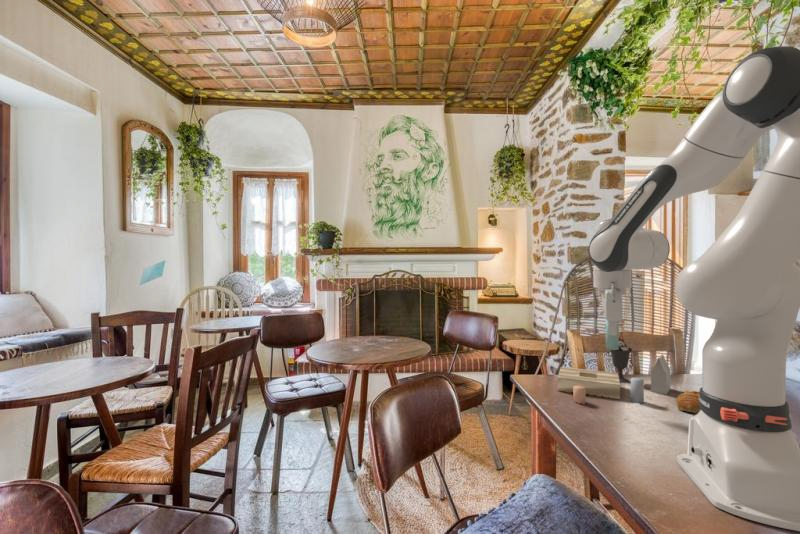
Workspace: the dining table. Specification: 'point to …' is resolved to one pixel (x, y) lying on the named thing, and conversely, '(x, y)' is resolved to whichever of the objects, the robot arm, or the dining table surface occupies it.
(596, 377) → the hole block
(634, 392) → the medium dowel
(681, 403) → the pastry
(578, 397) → the short dowel
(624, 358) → the sundae
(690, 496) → the dining table surface
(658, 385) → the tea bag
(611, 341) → the long dowel
